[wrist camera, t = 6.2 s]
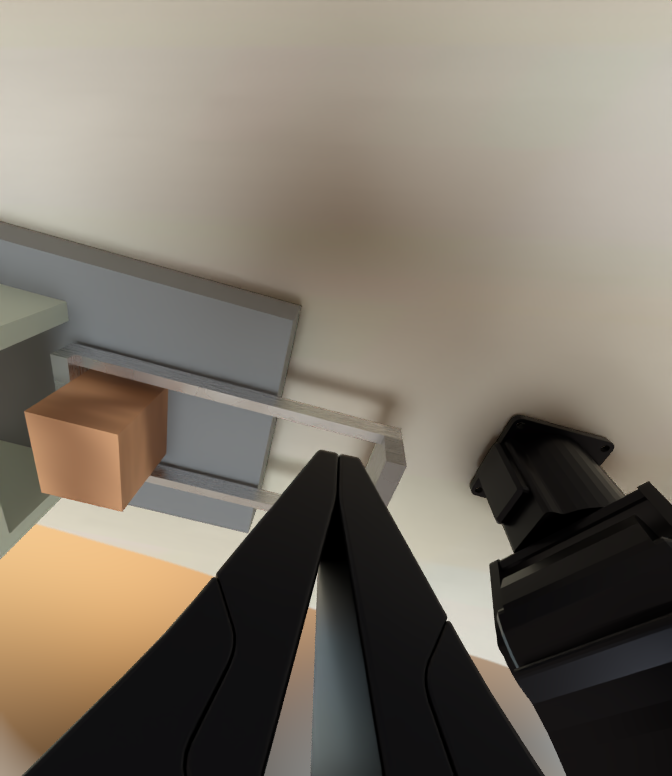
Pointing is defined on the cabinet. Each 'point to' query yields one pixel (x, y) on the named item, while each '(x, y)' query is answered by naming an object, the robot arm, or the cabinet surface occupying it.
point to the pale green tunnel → (12, 461)
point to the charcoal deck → (155, 357)
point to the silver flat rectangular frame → (382, 463)
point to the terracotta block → (98, 438)
